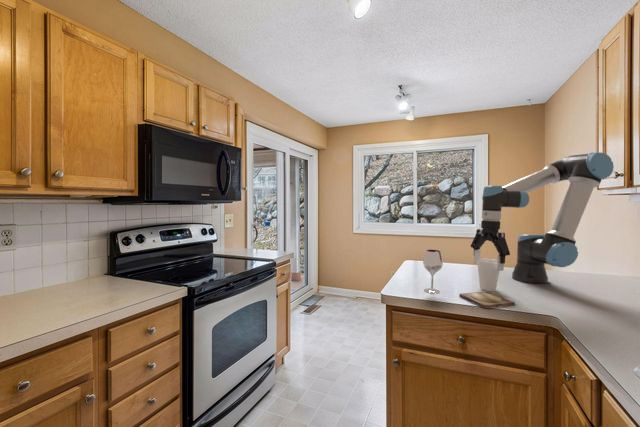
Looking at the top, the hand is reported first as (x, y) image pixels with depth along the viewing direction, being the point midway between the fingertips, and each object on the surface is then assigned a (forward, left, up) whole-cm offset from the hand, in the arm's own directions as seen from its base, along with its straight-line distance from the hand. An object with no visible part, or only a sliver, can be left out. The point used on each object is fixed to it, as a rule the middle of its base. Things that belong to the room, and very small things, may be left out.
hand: (487, 267), depth 142 cm
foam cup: (0, 0, -10) cm, 10 cm away
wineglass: (+27, -3, -10) cm, 29 cm away
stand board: (+13, +13, -10) cm, 21 cm away
